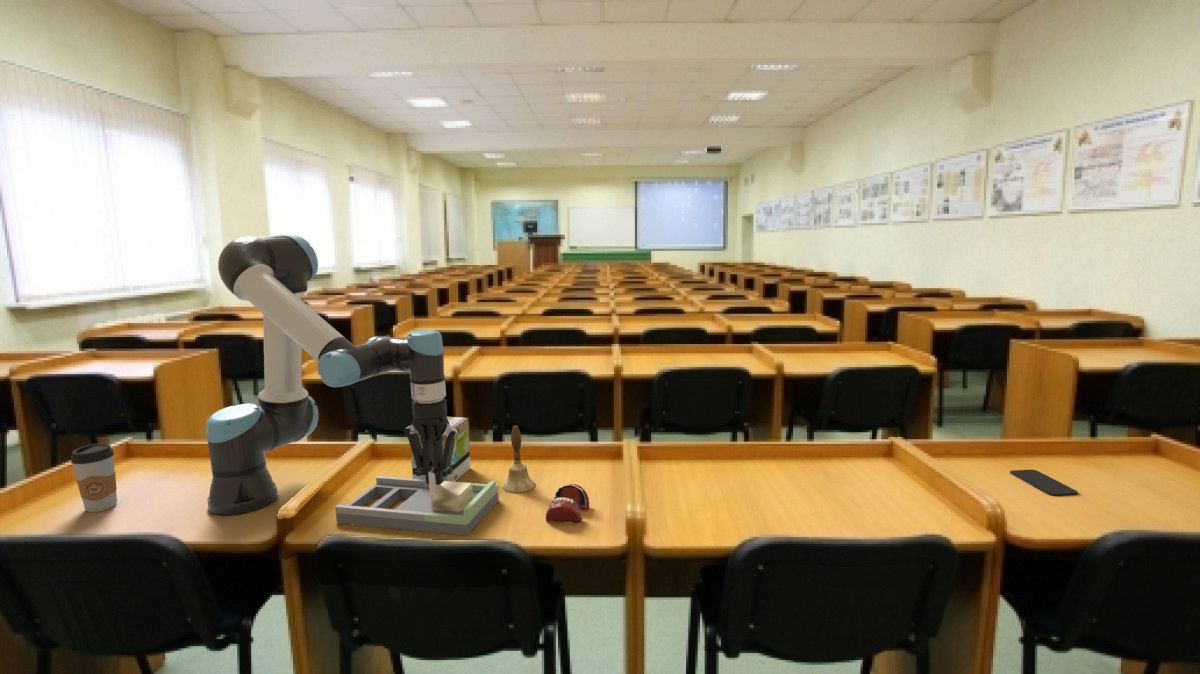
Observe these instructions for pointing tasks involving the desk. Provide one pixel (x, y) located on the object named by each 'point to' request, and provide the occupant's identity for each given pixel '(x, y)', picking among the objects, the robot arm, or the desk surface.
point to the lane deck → (416, 507)
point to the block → (451, 496)
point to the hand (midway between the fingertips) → (435, 496)
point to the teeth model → (568, 504)
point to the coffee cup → (95, 476)
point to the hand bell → (517, 468)
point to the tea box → (459, 455)
